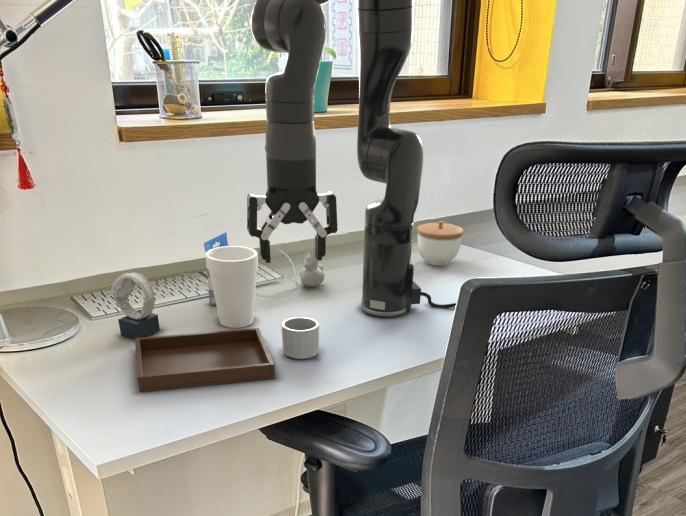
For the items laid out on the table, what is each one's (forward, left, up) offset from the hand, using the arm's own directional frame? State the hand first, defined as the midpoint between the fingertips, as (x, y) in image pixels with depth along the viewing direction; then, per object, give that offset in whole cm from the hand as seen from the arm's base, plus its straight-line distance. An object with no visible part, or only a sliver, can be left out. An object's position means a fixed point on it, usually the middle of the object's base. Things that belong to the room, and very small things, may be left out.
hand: (293, 260), depth 116 cm
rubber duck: (-11, -33, -17) cm, 39 cm away
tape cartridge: (+8, -28, -17) cm, 34 cm away
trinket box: (-44, -43, -17) cm, 64 cm away
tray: (+16, +2, -16) cm, 23 cm away
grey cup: (-1, +1, -16) cm, 16 cm away
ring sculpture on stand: (+26, -14, -17) cm, 34 cm away
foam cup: (+8, -16, -17) cm, 25 cm away
